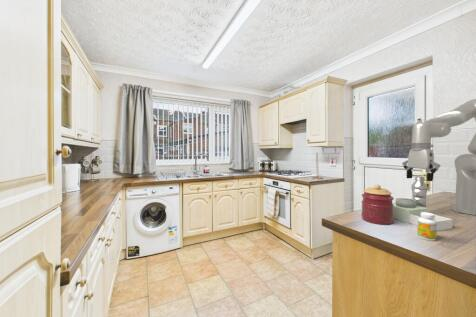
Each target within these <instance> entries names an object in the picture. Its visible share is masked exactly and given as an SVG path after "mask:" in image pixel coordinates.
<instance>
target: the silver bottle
mask: <svg viewBox="0 0 476 317" xmlns="http://www.w3.org/2000/svg"><path fill="white" fill-rule="evenodd" d="M414 177H415V179H414V180H415V181H414V182H413V183H412V184H411V193H412V198H411V200H415V201H416V206H420V207H424V208H428V207H427V193H428V190H429V189H428V188H429V186H428V185H427V184H426V183H425V181H426V179H425V177H424V176H418V175H417V176H414Z"/></svg>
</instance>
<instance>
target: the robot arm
mask: <svg viewBox="0 0 476 317" xmlns="http://www.w3.org/2000/svg"><path fill="white" fill-rule="evenodd" d="M473 118H474V120H475V122H476V98H473V99H470V100H467V101H466V102H464V103H463V104H460V105H459V106H457V107H455V108H454V109H452V110H450V111H447V112H444V113H442V114H440V115H437V116H434V117H432V118H430V119H427V120H426V121H424V122H417V123H414V124H413V125H412V134H411V149H409V152H408V157H407V160H405V161H403V162H401V164H402V166H403V168H404V170H405V171H406V179H412V178H413V169H419V170H420V169H421V170H426V172H427V173H426V181H427V182H433V181H434V174H435V173H436V172H437V171H438V170H439V169H440V168H441V164H439V163H437V162H435V155H434V150H433V149H432V148H434V144H432V138H434V139H435V138H443V137H447V136H448V135H450V133H452V128H453V127H457V126H460V125H463V124H465V123H466V122H468V121H470V120H472V119H473ZM467 151H468V152H469V153H463V154H460V155H458V156H456V158H454V169H455V173H456V178H455V179H456V180H455V181H456V182H455V198H454V200H455V203H454V204H455V205H454V206H451V207H450V209H451V211H454V212H457V213H460V214H466V215H474V216H476V133H475V134H474V136H473V137H472V139H471V140H470V142H469V144H468V147H467Z"/></svg>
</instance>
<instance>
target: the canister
mask: <svg viewBox="0 0 476 317" xmlns="http://www.w3.org/2000/svg"><path fill="white" fill-rule="evenodd" d="M363 192H364V193H362V194H361V197H362V201H361V213H360V216H361V218H362V220H363V221H366V222H368V223H371V224H375V225H376V224H377V225H387V226H388V225H391V224H393V221H394V218H393V206H394V205H393V204H392V203H393V200H394V197H393V196H392V194H393V192H391V191H389V190H388V189H386V188H381V185H380V184H375V185H374V187H367V188H366V189H364V190H363Z"/></svg>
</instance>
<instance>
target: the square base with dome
mask: <svg viewBox="0 0 476 317" xmlns="http://www.w3.org/2000/svg"><path fill="white" fill-rule="evenodd" d="M392 204H393V205H394V206H393V219H396V220H398V221H400V222H401V221H402V222H404V223H407V224H412V225H414V226H417V227H418V219H419V218H421V212H427V213H429V209H428V207H427V208H424V207H420V206H416V201H415V200H412V198H406V197H405V198H403V197H398V198H395V202H392ZM434 215H435V218H434V220H435V221H436V222H437V228H436V232H437V231H443V230H449V229H450V230H451V229H453V224H454V222H453V221H454V219H452V218H448V217H445V216H442V215H437V214H434Z"/></svg>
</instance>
